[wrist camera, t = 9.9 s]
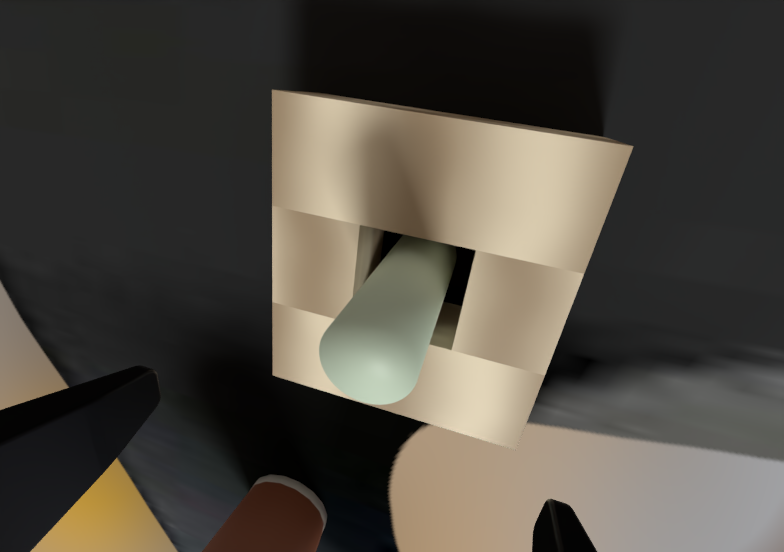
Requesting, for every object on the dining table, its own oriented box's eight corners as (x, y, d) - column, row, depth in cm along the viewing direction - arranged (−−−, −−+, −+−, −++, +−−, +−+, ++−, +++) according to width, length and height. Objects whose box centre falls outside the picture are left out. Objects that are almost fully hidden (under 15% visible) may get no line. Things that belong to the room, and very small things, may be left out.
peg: (462, 232, 18) (427, 332, 10) (450, 289, 19) (409, 416, 11) (401, 219, 19) (321, 304, 11) (392, 275, 20) (316, 388, 12)
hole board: (603, 137, 15) (633, 146, 12) (514, 391, 21) (515, 450, 17) (319, 92, 17) (271, 89, 14) (308, 333, 23) (272, 375, 19)
